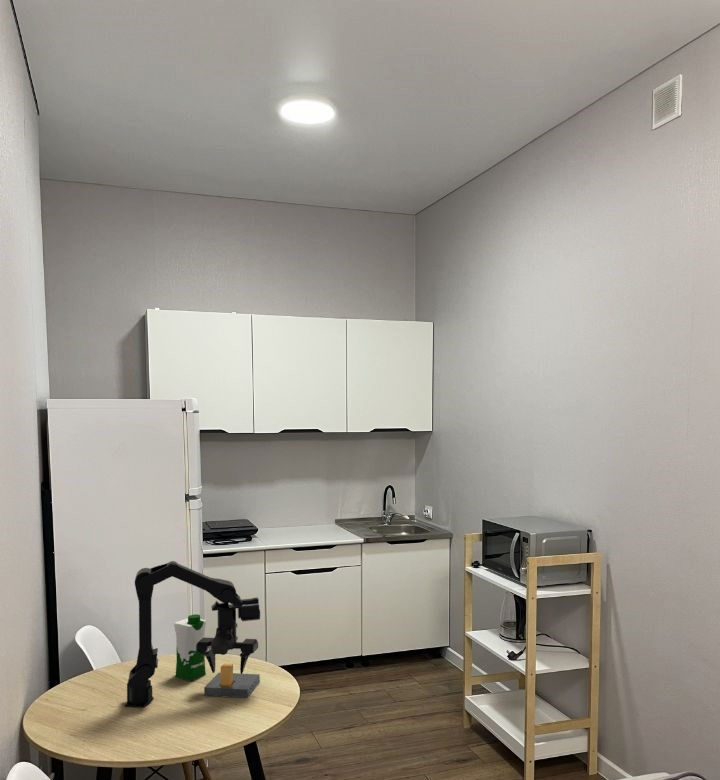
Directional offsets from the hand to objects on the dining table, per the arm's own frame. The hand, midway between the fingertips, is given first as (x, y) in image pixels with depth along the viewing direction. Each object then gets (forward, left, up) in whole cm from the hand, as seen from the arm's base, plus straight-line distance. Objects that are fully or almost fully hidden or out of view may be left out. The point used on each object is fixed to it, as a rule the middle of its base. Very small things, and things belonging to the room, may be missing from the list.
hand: (227, 673), depth 211 cm
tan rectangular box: (0, 0, -6) cm, 6 cm away
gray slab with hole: (+1, +2, -6) cm, 6 cm away
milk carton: (-17, +11, -6) cm, 21 cm away
